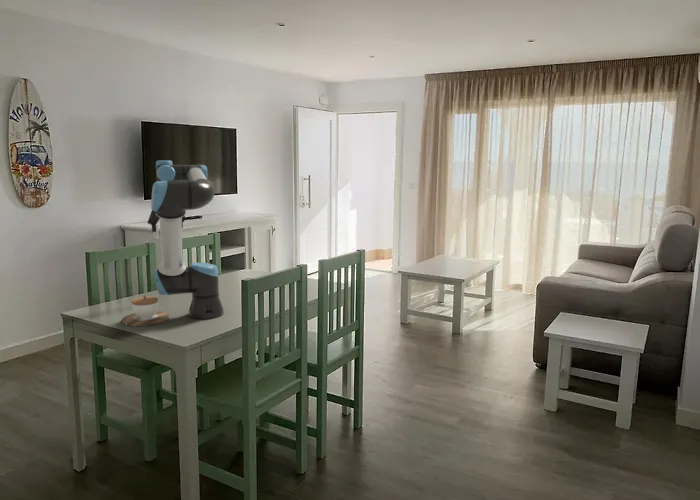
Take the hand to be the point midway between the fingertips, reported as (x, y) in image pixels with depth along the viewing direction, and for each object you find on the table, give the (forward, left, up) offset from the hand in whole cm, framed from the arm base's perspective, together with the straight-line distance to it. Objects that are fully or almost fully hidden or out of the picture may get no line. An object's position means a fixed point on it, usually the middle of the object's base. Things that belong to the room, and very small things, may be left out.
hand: (168, 236), depth 263 cm
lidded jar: (-10, +31, -30) cm, 45 cm away
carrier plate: (-10, +31, -32) cm, 45 cm away
